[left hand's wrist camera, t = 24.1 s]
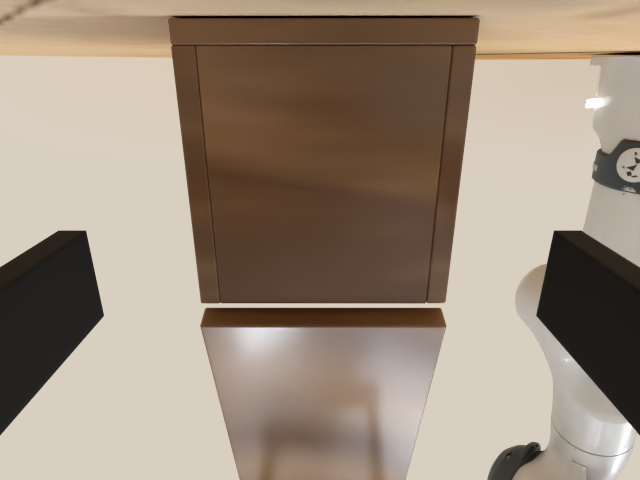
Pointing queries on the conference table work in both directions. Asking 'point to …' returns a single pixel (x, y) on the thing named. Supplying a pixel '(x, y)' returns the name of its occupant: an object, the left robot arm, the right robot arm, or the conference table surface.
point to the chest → (323, 154)
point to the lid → (323, 388)
